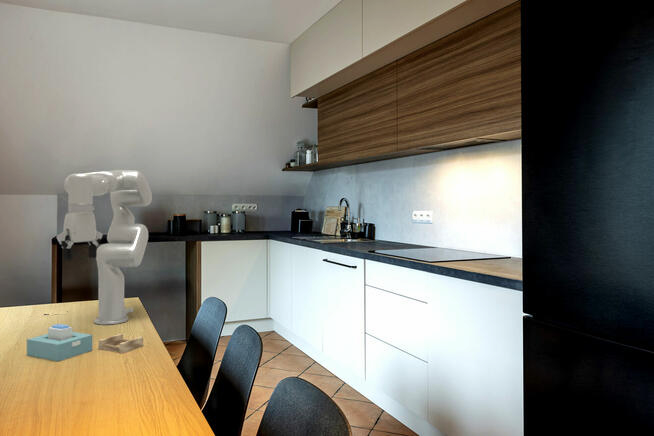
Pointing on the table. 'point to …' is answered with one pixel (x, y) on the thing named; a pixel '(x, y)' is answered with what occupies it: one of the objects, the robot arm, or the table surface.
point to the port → (59, 346)
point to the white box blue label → (60, 332)
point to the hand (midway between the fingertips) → (80, 258)
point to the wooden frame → (120, 343)
